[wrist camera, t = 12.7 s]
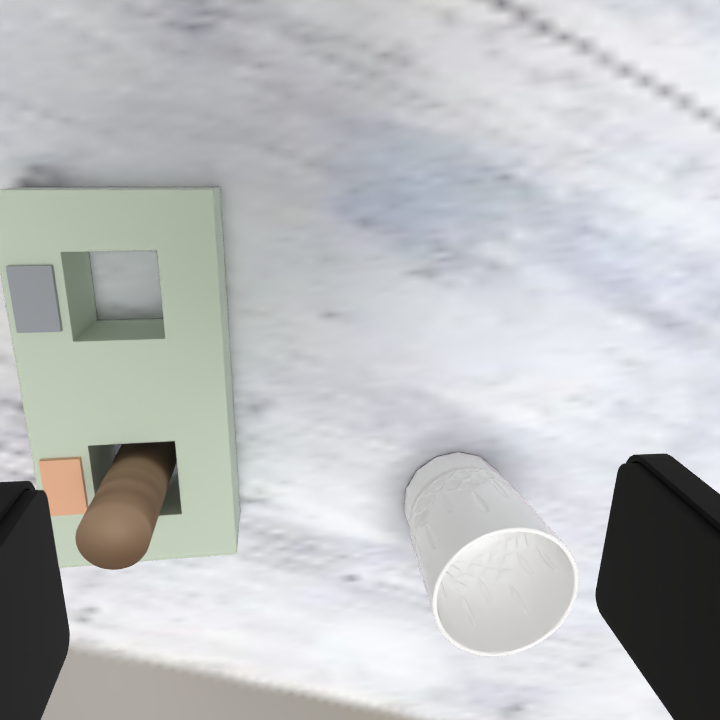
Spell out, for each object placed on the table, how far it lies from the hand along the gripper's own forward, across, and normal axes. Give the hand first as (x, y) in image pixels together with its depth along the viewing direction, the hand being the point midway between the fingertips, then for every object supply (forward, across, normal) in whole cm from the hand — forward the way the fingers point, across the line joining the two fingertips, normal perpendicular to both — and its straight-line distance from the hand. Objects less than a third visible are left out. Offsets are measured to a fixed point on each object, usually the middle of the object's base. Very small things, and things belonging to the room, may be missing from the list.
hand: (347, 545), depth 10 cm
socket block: (+26, +9, +6) cm, 29 cm away
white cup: (+26, -10, +16) cm, 32 cm away
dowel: (+26, +9, +11) cm, 30 cm away
